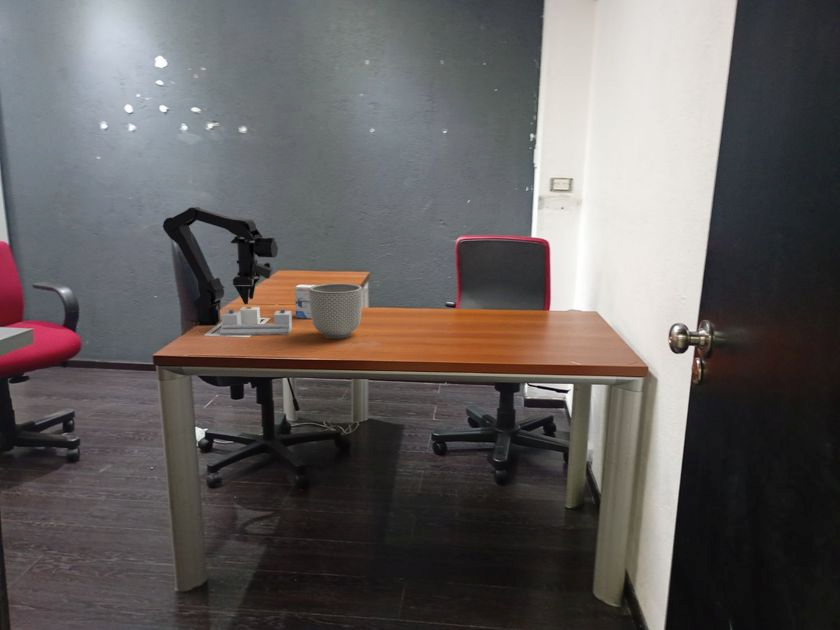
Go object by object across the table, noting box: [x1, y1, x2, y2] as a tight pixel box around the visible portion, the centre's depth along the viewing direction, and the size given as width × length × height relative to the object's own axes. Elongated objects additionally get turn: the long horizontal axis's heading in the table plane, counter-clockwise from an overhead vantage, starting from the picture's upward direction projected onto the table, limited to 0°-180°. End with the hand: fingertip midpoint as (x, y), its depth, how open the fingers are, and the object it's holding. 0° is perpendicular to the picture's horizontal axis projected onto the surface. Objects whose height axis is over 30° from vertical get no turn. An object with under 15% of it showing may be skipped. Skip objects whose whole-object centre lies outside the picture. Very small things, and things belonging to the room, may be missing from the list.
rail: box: [219, 323, 291, 336], centre depth 204 cm, size 22×3×3 cm, turn 94°
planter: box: [309, 282, 364, 340], centre depth 201 cm, size 17×17×16 cm
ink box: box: [294, 284, 316, 319], centre depth 228 cm, size 9×5×12 cm, turn 84°
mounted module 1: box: [220, 308, 241, 325], centre depth 208 cm, size 5×6×7 cm
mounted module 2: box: [273, 308, 293, 332], centre depth 209 cm, size 5×6×7 cm
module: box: [238, 305, 261, 324], centre depth 216 cm, size 6×5×7 cm
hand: (248, 301), depth 215 cm, fingers open, 9 cm apart
